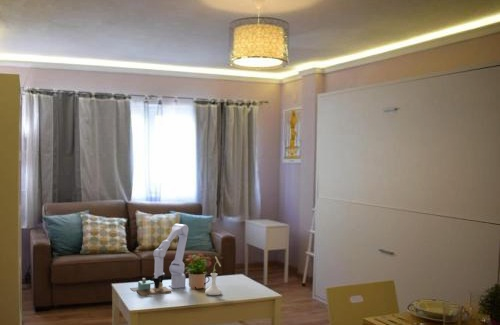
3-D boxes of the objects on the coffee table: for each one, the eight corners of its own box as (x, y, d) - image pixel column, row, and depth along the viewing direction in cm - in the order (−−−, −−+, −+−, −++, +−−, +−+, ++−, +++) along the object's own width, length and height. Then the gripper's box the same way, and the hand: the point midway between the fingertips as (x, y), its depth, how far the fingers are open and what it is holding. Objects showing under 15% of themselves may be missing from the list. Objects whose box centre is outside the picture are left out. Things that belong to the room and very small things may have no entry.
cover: (149, 288, 348) (150, 276, 348) (153, 291, 341) (154, 279, 341) (138, 289, 344) (138, 277, 344) (141, 292, 337) (142, 280, 337)
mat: (143, 287, 358) (143, 286, 358) (147, 289, 351) (147, 289, 351) (129, 288, 353) (129, 288, 353) (133, 291, 346) (133, 290, 346)
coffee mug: (190, 287, 361) (191, 273, 361) (201, 285, 366) (201, 271, 366) (199, 290, 352) (199, 276, 352) (210, 289, 357) (210, 274, 357)
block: (160, 290, 349) (160, 282, 349) (162, 292, 346) (162, 283, 346) (154, 291, 347) (154, 282, 347) (156, 293, 343) (156, 284, 343)
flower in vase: (219, 297, 337) (220, 259, 337) (202, 295, 339) (203, 258, 339) (224, 292, 350) (225, 255, 350) (208, 291, 352) (209, 254, 352)
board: (165, 288, 355) (165, 286, 355) (171, 292, 345) (171, 290, 345) (136, 291, 345) (136, 289, 345) (142, 295, 335) (142, 293, 335)
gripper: (162, 269, 339) (161, 289, 339) (167, 264, 353) (166, 284, 353) (151, 268, 339) (150, 289, 339) (157, 264, 354) (156, 284, 354)
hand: (158, 286), depth 346 cm, fingers open, 7 cm apart
